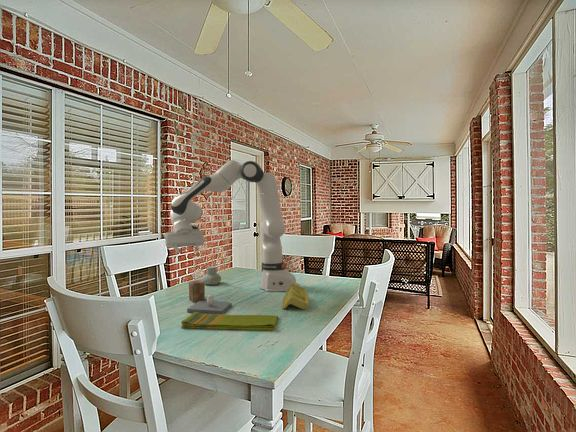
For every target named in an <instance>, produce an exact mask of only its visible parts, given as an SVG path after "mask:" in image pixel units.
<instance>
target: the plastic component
mask: <svg viewBox="0 0 576 432" xmlns="http://www.w3.org/2000/svg"><path fill="white" fill-rule="evenodd" d="M309 298H310V297H309V293H308V291H307V290H306V289H305V288H303V287H301V285H300V286H298V285H296V284H291V285H290V287H289V288H288V290H287V291H285V295H284V297H283V299H282V305H281V309H283V310H286V309H288V308H287V307H288V306H289V305H291V306H295V307H297V308H299V309H301V310H307V308H308V307H309V305H310V299H309Z"/></svg>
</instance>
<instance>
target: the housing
mask: <svg viewBox="0 0 576 432" xmlns="http://www.w3.org/2000/svg"><path fill="white" fill-rule="evenodd" d="M205 285H206V284H205V283H204V282H203V281H202V279H198V280H190V281H188V298H189V299H188V300H189V301H191V302H192V303H197V302H198V301H206V299H205V298H206V297H205V295H206V293H205V290H206V289H205Z"/></svg>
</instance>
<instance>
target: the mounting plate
mask: <svg viewBox="0 0 576 432" xmlns="http://www.w3.org/2000/svg"><path fill="white" fill-rule="evenodd" d="M213 299H214V298H213V295H211V294H208V295H207V297H206V300H204V301H198V302H194V304H192V305H190V306H189V307H188V308H187V309H186V313H189V314H190V313H191V314H193V313H194V312H198V313H202V314H222V315H224V313H226V312H227V311H228V310H229V309H230V308H231V307H232V304H233V302H228V301H213Z"/></svg>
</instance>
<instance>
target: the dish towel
mask: <svg viewBox="0 0 576 432" xmlns="http://www.w3.org/2000/svg"><path fill="white" fill-rule="evenodd" d="M278 319H279V316H278V315H271V314H270V315H269V314H268V315H267V314H207V313H198V312H194V313H191V314H190V315H189V316H187V317H186V318H184V319H183V320H181V327H180V328H181V330H182V329H183V330H185V329H186V330H187V329H188V330H211V331H212V330H215V331H216V330H218V331H249V332H250V331H251V332H273V331H274V330H275V327H276V325H277V321H278Z"/></svg>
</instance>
